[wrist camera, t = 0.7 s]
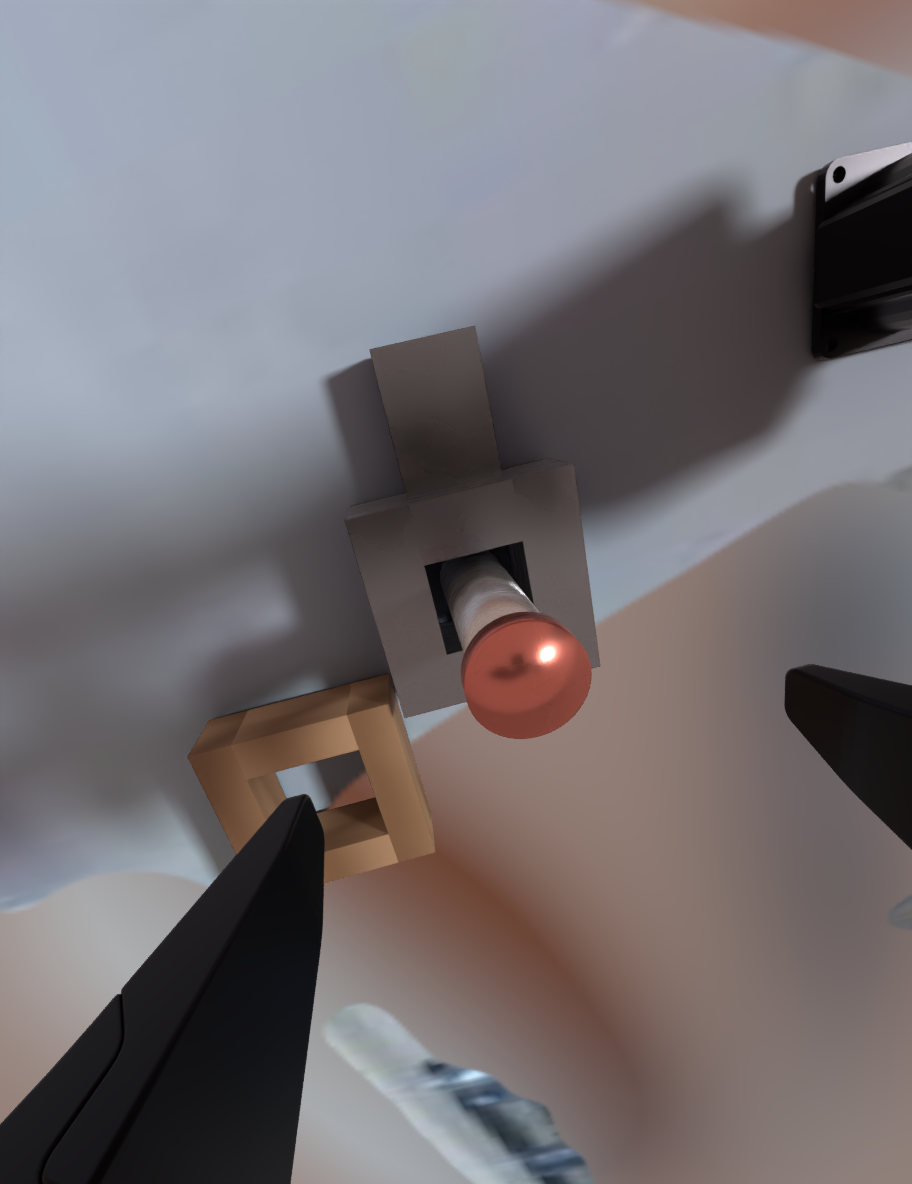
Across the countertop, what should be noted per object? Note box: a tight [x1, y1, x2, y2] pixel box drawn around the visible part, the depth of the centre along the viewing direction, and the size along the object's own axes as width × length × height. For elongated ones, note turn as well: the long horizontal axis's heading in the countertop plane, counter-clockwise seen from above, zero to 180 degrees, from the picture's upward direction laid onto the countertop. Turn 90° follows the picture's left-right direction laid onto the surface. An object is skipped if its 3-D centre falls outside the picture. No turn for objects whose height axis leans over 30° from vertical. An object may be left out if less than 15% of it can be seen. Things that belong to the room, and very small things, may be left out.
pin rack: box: [188, 674, 435, 883], centre depth 22 cm, size 8×8×2 cm
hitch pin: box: [440, 550, 591, 739], centre depth 16 cm, size 3×3×9 cm
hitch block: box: [345, 326, 600, 718], centre depth 18 cm, size 8×13×3 cm, turn 13°
